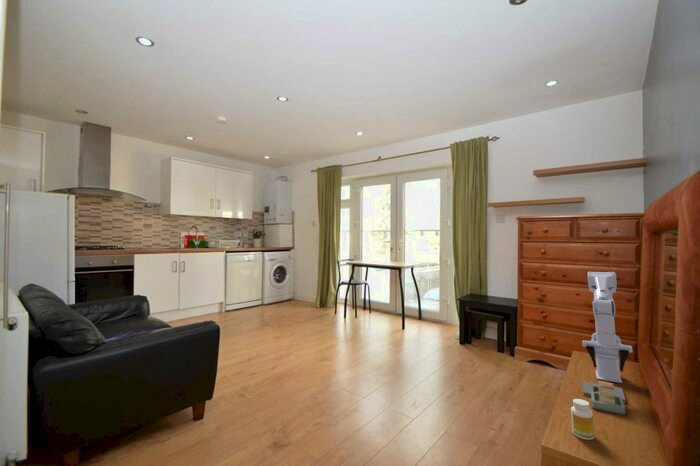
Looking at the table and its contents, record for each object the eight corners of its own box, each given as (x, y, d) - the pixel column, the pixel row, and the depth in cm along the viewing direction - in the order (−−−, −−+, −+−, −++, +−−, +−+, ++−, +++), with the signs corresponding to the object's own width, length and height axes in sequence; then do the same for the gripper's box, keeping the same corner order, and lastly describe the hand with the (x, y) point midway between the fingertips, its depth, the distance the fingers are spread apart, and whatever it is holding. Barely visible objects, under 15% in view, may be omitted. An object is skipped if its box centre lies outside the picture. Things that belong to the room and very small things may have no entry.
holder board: (582, 384, 127) (582, 381, 127) (621, 391, 120) (621, 387, 121) (583, 395, 118) (583, 392, 118) (626, 403, 112) (625, 400, 112)
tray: (591, 398, 116) (590, 391, 116) (622, 404, 111) (621, 396, 111) (592, 408, 109) (592, 401, 109) (625, 415, 104) (625, 407, 104)
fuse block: (599, 400, 113) (598, 380, 113) (614, 403, 111) (612, 383, 111) (600, 405, 110) (599, 385, 110) (615, 408, 108) (613, 387, 108)
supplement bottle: (598, 441, 92) (596, 406, 92) (577, 439, 93) (575, 405, 93) (588, 430, 97) (586, 398, 97) (568, 429, 98) (566, 396, 98)
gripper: (581, 332, 120) (584, 368, 120) (632, 337, 112) (635, 376, 112) (581, 327, 126) (583, 362, 126) (629, 332, 118) (632, 369, 117)
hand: (607, 368), depth 119 cm, fingers open, 7 cm apart
